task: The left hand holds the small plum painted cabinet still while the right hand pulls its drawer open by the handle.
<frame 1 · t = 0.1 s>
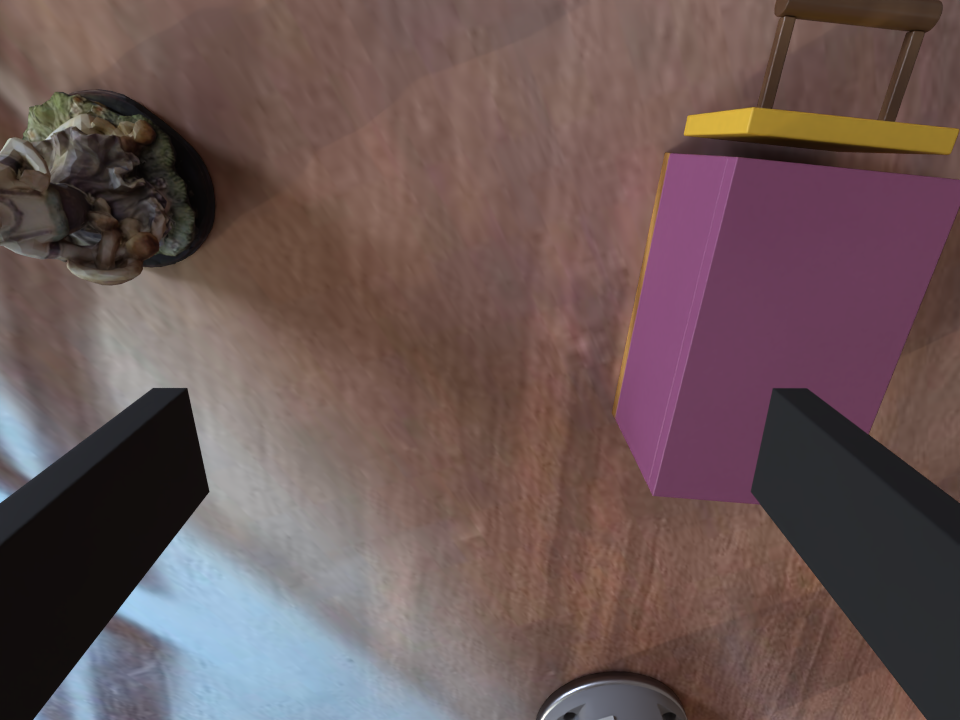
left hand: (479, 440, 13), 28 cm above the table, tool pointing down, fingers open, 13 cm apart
figurine: (128, 182, 37), on the table
drawer: (775, 231, 33), point 6 cm above the table, slide at 1.1 cm
cabinet: (714, 301, 40), on the table
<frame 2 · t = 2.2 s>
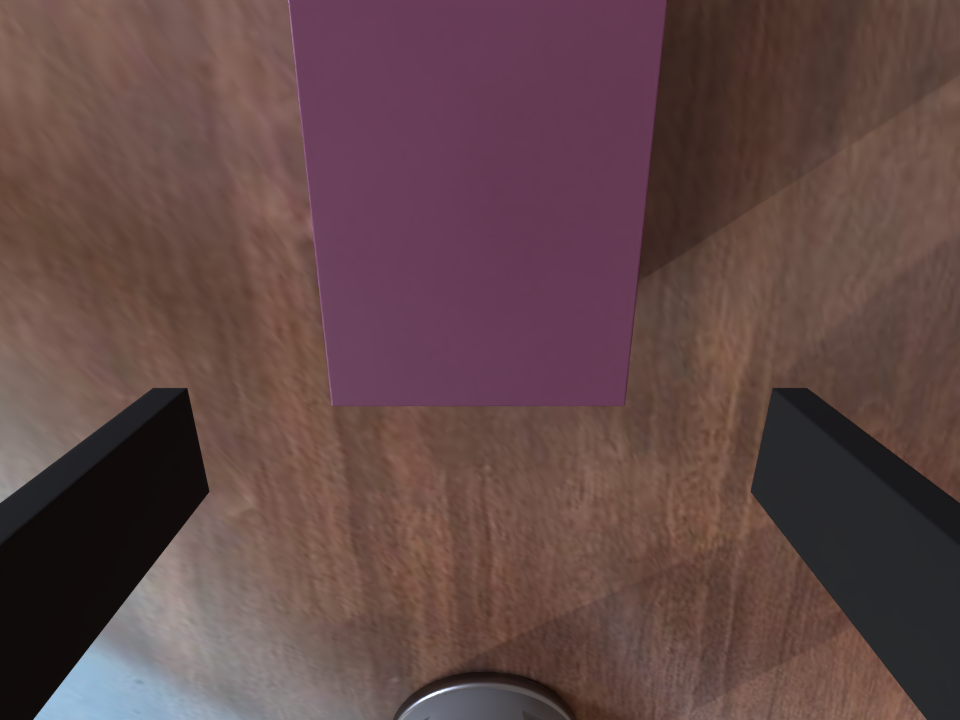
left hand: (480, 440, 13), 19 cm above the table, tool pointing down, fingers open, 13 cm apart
cabinet: (478, 143, 28), on the table
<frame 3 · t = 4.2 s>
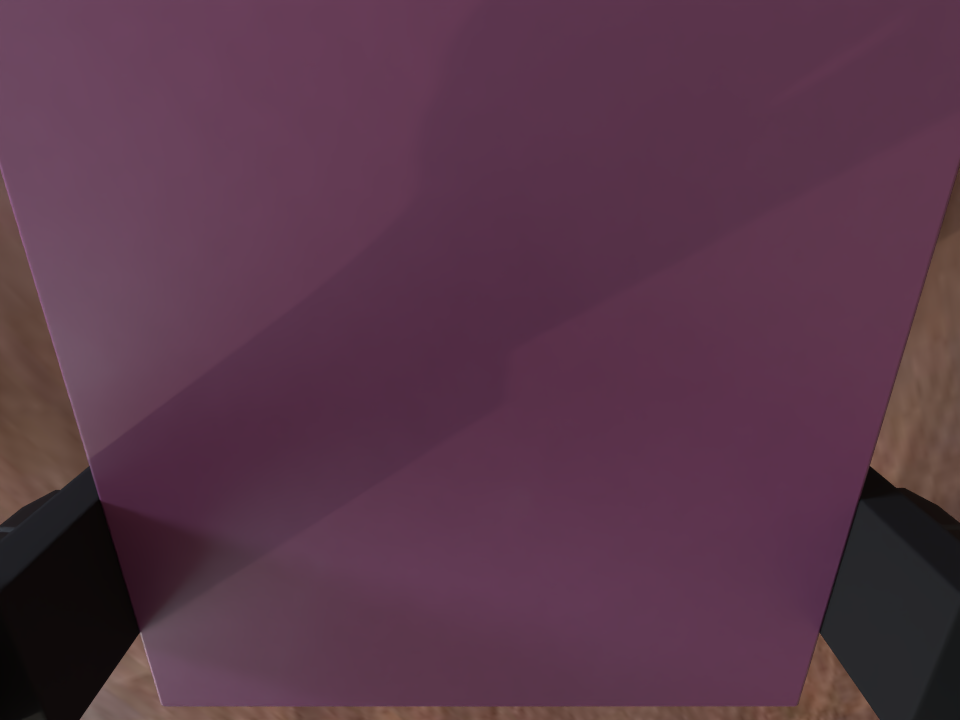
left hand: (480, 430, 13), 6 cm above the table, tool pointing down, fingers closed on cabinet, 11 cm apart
cabinet: (479, 137, 17), on the table, touching left hand
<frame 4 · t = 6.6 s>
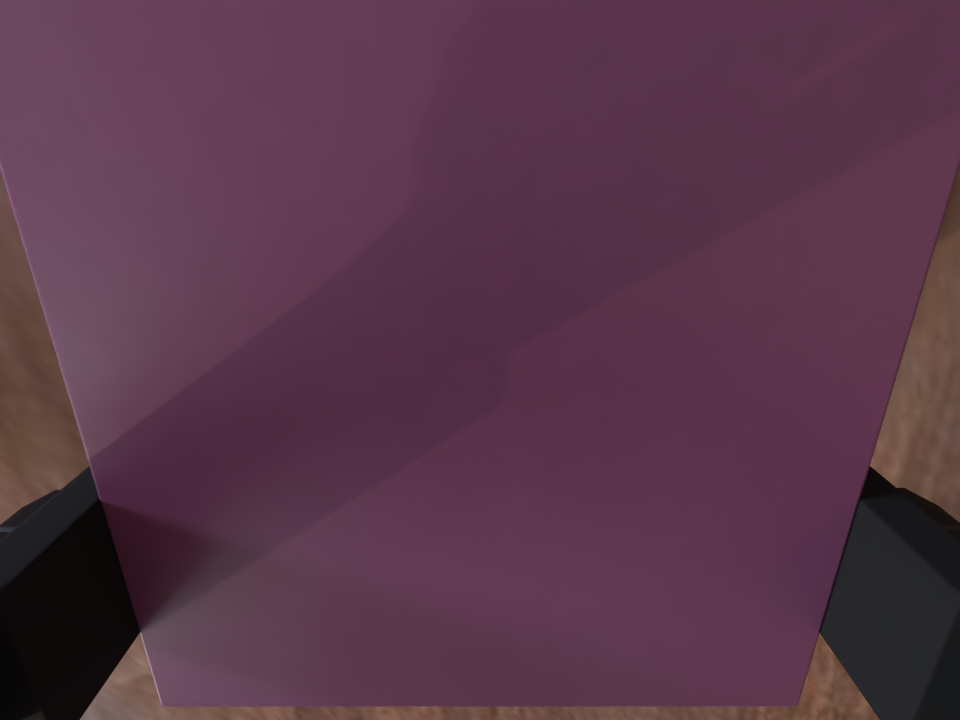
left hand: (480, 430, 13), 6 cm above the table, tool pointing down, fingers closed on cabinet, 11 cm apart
cabinet: (479, 137, 17), on the table, touching left hand
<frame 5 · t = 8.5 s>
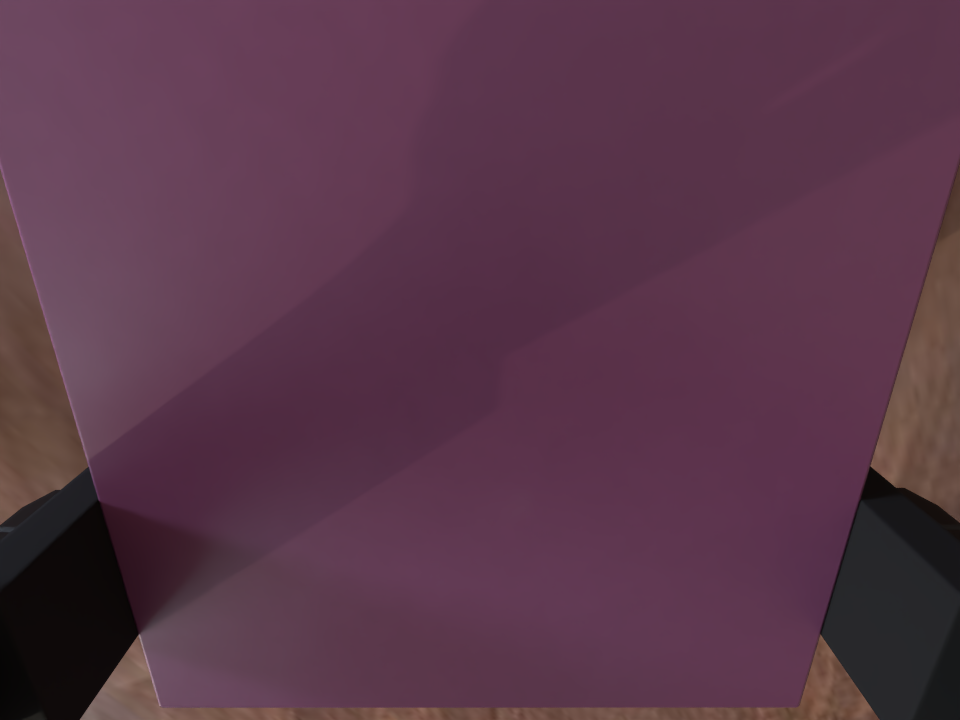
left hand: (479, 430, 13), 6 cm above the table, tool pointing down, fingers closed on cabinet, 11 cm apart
cabinet: (479, 138, 17), on the table, touching left hand
when the left hand's fingers open (7 cm above the table, at t = 10.3 s): cabinet stays where it is, on the table.
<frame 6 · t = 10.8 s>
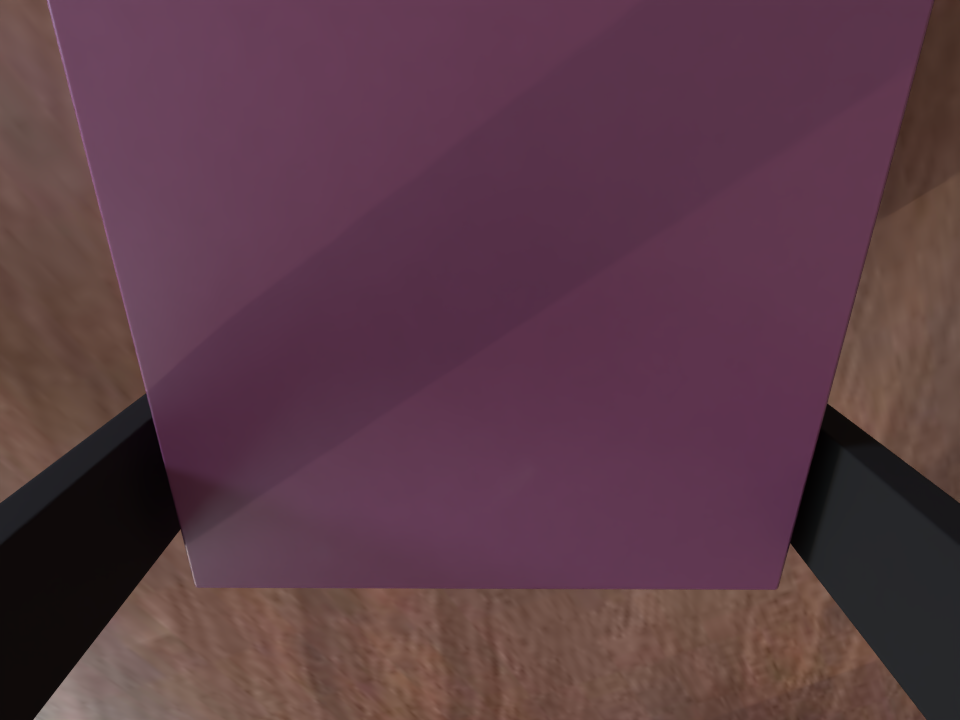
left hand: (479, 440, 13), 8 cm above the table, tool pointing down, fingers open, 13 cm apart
cabinet: (485, 88, 17), on the table
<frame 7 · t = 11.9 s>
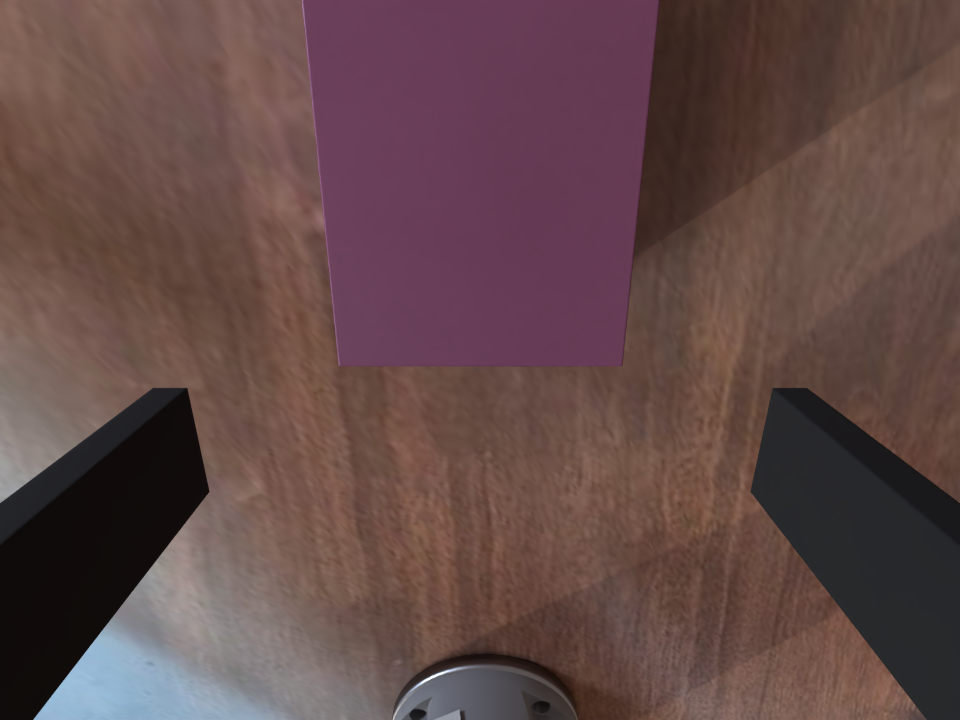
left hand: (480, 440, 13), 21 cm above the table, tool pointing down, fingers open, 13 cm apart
cabinet: (480, 118, 29), on the table
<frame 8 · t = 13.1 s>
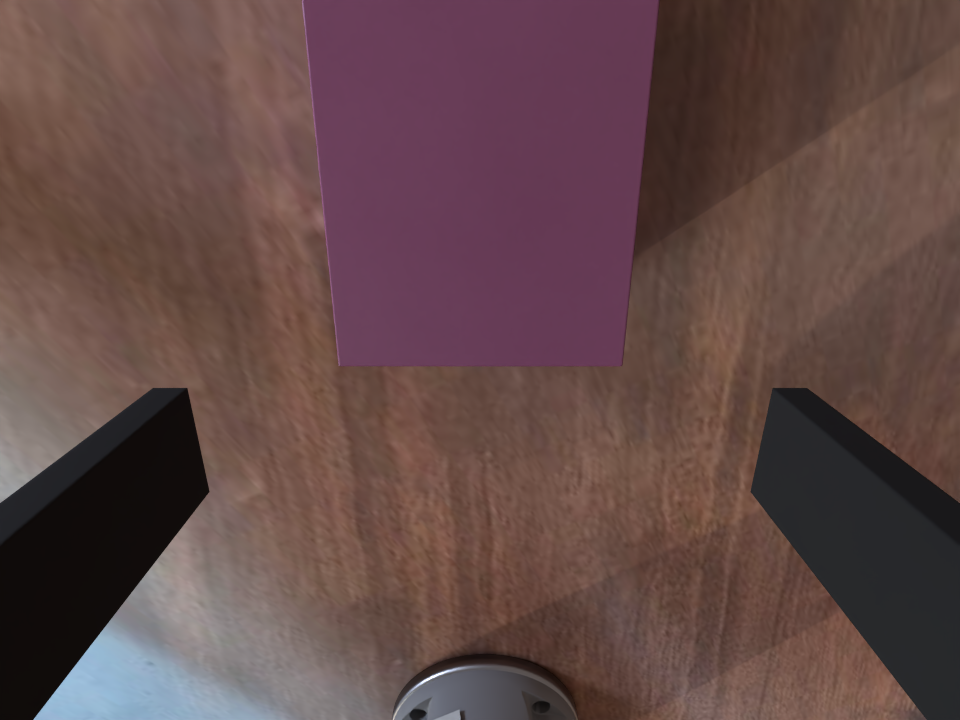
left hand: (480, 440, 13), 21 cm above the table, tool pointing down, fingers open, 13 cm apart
cabinet: (480, 118, 29), on the table
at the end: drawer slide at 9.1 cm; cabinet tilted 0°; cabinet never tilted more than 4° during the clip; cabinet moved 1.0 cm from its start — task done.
